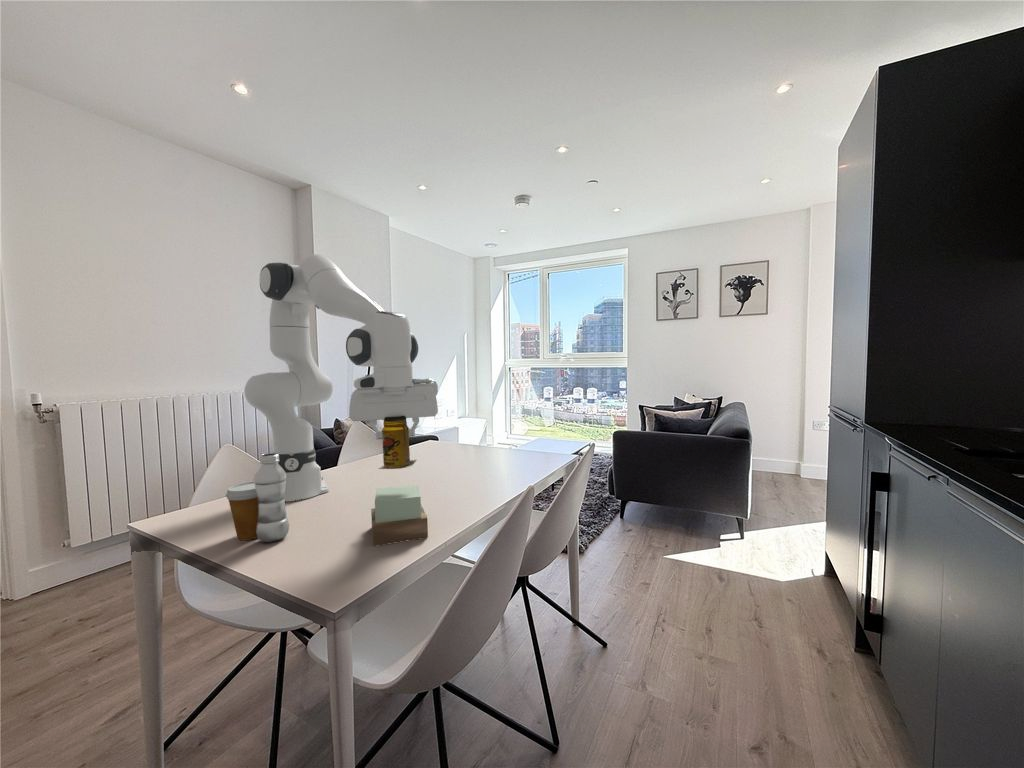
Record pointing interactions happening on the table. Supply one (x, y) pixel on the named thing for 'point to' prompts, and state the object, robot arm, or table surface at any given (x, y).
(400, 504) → the top block
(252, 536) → the disposable coffee cup
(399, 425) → the condiment
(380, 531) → the base block
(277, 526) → the plastic bottle
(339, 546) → the table surface
